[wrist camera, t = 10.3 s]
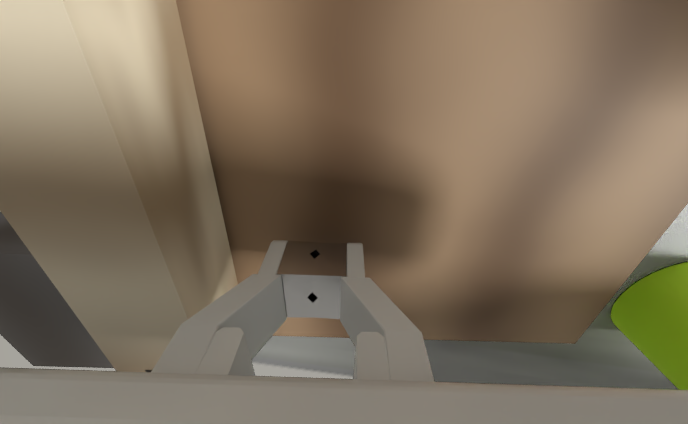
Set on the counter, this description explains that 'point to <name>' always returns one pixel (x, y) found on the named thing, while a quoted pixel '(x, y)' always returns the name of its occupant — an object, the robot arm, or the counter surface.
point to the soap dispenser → (658, 320)
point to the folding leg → (111, 168)
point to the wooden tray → (427, 157)
